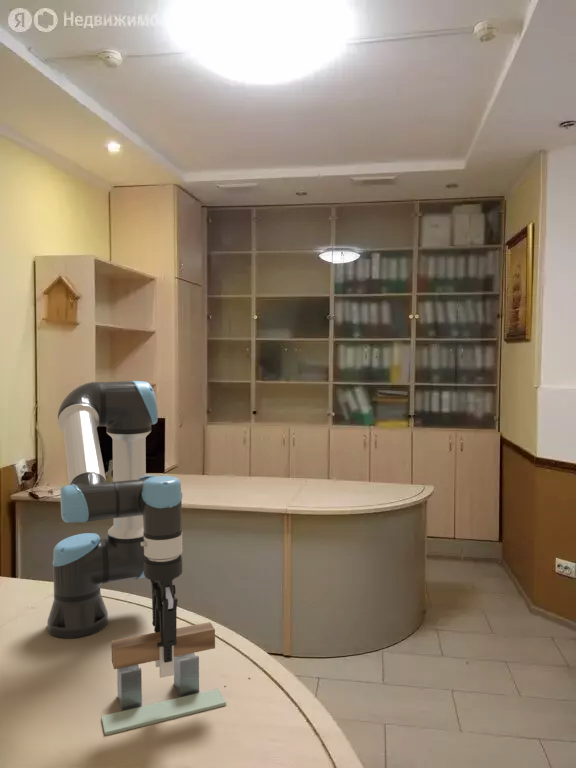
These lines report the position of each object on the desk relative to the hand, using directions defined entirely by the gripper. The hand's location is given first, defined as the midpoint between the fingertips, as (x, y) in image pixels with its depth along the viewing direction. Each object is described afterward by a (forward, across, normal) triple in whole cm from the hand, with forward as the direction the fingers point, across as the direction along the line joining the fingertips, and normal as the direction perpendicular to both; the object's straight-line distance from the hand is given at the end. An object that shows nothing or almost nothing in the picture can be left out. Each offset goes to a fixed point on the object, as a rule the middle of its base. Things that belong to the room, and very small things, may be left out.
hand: (164, 669), depth 120 cm
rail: (-3, 0, 0) cm, 3 cm away
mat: (+9, 0, 0) cm, 9 cm away
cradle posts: (+9, -7, 0) cm, 11 cm away
